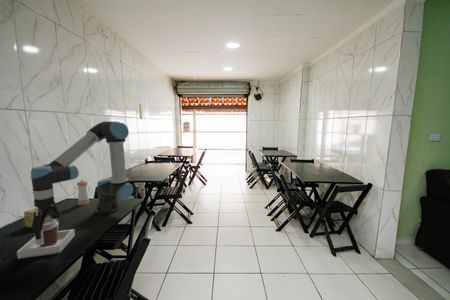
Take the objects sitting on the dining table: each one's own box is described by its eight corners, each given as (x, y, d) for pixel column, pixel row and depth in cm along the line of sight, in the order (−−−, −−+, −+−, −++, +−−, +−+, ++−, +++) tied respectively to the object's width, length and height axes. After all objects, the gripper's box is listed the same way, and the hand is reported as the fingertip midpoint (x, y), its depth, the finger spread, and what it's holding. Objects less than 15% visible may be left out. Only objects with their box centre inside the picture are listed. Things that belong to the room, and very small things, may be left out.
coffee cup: (44, 251, 98) (42, 228, 97) (32, 247, 101) (30, 225, 100) (64, 241, 107) (62, 219, 105) (53, 238, 110) (51, 217, 108)
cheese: (38, 229, 120) (36, 213, 119) (24, 227, 122) (22, 211, 121) (55, 221, 130) (54, 206, 129) (42, 219, 133) (41, 205, 131)
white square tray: (74, 235, 114) (74, 229, 113) (59, 252, 98) (59, 246, 98) (39, 239, 109) (38, 233, 109) (17, 258, 93) (16, 251, 93)
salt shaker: (84, 201, 164) (82, 178, 162) (91, 202, 162) (89, 179, 160) (75, 204, 157) (73, 180, 155) (82, 205, 155) (80, 181, 153)
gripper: (49, 190, 111) (52, 226, 114) (16, 207, 88) (22, 252, 90) (64, 189, 113) (68, 224, 116) (37, 206, 90) (42, 250, 92)
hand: (48, 236), depth 103 cm, fingers open, 13 cm apart
